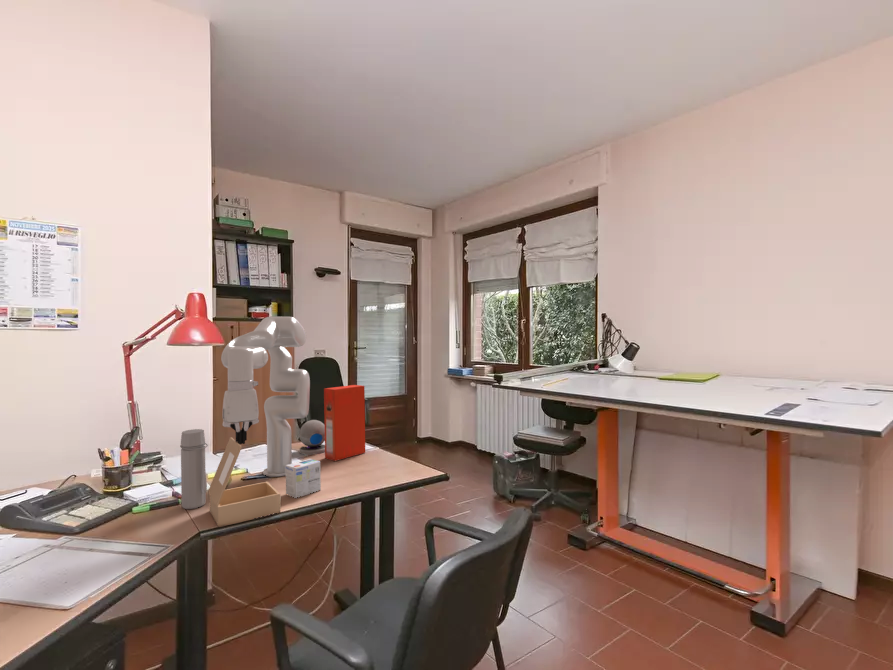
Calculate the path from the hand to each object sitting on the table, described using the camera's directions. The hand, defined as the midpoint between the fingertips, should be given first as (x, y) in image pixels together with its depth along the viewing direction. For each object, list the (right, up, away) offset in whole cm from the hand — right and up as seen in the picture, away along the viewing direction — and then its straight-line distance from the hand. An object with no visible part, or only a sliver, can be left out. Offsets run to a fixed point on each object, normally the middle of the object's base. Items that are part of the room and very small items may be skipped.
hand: (241, 443), depth 144 cm
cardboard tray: (+1, -22, +1) cm, 22 cm away
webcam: (+1, -22, +74) cm, 78 cm away
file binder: (+19, -22, +66) cm, 72 cm away
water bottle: (-18, -23, +6) cm, 29 cm away
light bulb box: (+14, -22, +18) cm, 32 cm away
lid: (-4, -8, -3) cm, 9 cm away
